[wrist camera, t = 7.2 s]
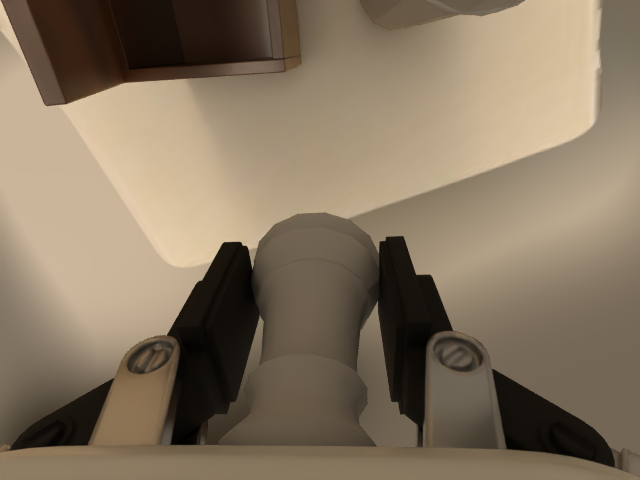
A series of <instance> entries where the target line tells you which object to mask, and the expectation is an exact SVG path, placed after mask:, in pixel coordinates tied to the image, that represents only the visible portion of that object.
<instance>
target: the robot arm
mask: <svg viewBox="0 0 640 480" xmlns="http://www.w3.org/2000/svg"><path fill="white" fill-rule="evenodd" d="M379 269H380V296H379V299H378V314H379V321H380V328H381V335H382V342H383V349H384V356H385V363H386V369H387V376H388V383H389V390H390V397H391V401H392V402H398V403H399V410H400V414H405V415H406V416H407V417H408V418H409V419H411V420H412V421H413V422H415V423H416V424H417V427H416V447H366V446H259V445H206V438H207V429H208V419H209V418H211V417H212V416H214V414H227V412H228V409H229V405H230V402H235V401H236V399H237V396H238V393H239V389H240V385H241V382H242V378H243V375H244V371H245V367H246V363H247V360H248V356H249V353H250V349H251V345H252V342H253V338H254V335H255V331H256V327H257V324H258V320H259V316H260V312H259V307H258V306H257V305H256V303H255V299H254V294H253V290H252V285H251V273H252V265H251V260H250V256H249V250H248V247H247V246H243V245H242V243H241V242H224V243H223V244H222V246H221V247H220V249H219V251H218V253H217V255H216V256H215V258H214V260H213V262H212V264H211V266H210V267H209V269H208V271H207V273H206V275H205V277H204V278H203V280H202V281H199V282H198V283H197V284H196V285H195V287H194V289H193V290H192V292H191V294H190V296H189V297H188V299H187V301H186V303H185V304H184V306H183V308H182V310H181V312H180V313H179V315H178V317H177V318H176V320H175V322H174V324H173V325H172V327H171V329H170V331H169V333H168V334H167V336H166V335H163V336H154V337H151V338H147V339H145V340H143V341H141V342H139V343H138V344H136V345H135V346H133V347H132V348H131V349H130V350H129V351H128V352H127V353H126V354H125V356H124V357H123V359H122V361H121V363H120V365H119V368H118V370H117V373H116V375H115V378H113V379H111V380H109V381H108V382H106V383H104V384H102V385H100V386H99V387H97V388H95V389H93V390H92V391H90V392H88V393H86V394H85V395H83V396H81V397H79V398H78V399H76V400H74V401H72V402H71V403H69V404H67V405H65V406H63V407H62V408H60V409H58V410H56V411H55V412H53V413H51V414H49V415H47V416H46V417H44V418H42V419H41V420H39V421H37V422H36V423H34V424H33V425H32V426H30V427H29V428H28V429H27V430H26V431H25V432H23V433H22V434H21V435H20V436H19V438H18V439H17V440H16V442H15V443H14V444H13V445H12V447H9V446H8V444H4V445H2V446H0V480H640V455H638V454H635V453H633V452H631V451H629V450H627V449H625V448H624V449H623V450H622V451H621V452H618V451H616V450H614V449H612V448H610V447H609V446H608V444H607V443H606V441H605V440H604V438H603V437H602V436H601V435H600V434H599V433H598V432H597V431H596V430H595V429H594V428H592V427H591V426H589V425H588V424H586V423H585V422H584V421H582V420H580V419H579V418H577V417H575V416H573V415H572V414H570V413H568V412H566V411H565V410H563V409H561V408H560V407H558V406H556V405H555V404H553V403H551V402H549V401H548V400H546V399H544V398H542V397H541V396H539V395H537V394H535V393H534V392H532V391H530V390H528V389H527V388H525V387H523V386H522V385H520V384H518V383H516V382H515V381H513V380H511V379H510V378H508V377H506V376H504V375H503V374H501V373H499V372H497V371H496V370H494V369H492V367H491V362H490V357H489V354H488V352H487V350H486V348H485V347H484V346H483V345H482V344H481V343H480V342H479V341H478V340H476V339H475V338H474V337H471V336H469V335H467V334H465V333H461V332H457V331H453V330H452V327H451V324H450V322H449V319H448V316H447V314H446V311H445V309H444V306H443V303H442V301H441V298H440V296H439V293H438V291H437V288H436V285H435V283H434V281H433V278H432V276H431V275H416V273H415V270H414V267H413V264H412V261H411V258H410V255H409V252H408V249H407V246H406V242H405V240H404V237H403V236H396V237H395V236H394V237H386V240H385V241H380V246H379Z"/></svg>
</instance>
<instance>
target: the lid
mask: <svg viewBox="0 0 640 480" xmlns="http://www.w3.org/2000/svg"><path fill="white" fill-rule="evenodd" d="M1 1H2V4H3V6H4V9H5V11H6V13H7V16H8V18H9V21H10V23H11V25H12V28H13V30H14V32H15V35H16V37H17V40H18V42H19V44H20V47H21V49H22V52H23V54H24V56H25V59H26V61H27V64H28V66H29V68H30V71H31V73H32V75H33V78H34V80H35V82H36V85H37V87H38V90H39V92H40V95H41V97H42V99H43V102H44V104H45V105H46V106H51V105H63V104H68V103H71V102H74V101H76V100H79V99H82V98H85V97H87V96H90V95H93V94H96V93H98V92H101V91H104V90H107V89H109V88H112V87H115V86H118V85H120V84H123V83H124V79H123V76H122V73H121V70H120V66H119V63H118V60H117V56H116V53H115V50H114V47H113V43H112V40H111V37H110V34H109V30H108V27H107V24H106V20H105V17H104V14H103V11H102V7H101V4H100V1H99V0H1Z"/></svg>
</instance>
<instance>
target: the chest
mask: <svg viewBox="0 0 640 480" xmlns="http://www.w3.org/2000/svg"><path fill="white" fill-rule="evenodd" d="M99 1H100V4H101V7H102V11H103V14H104V17H105V20H106V24H107V27H108V30H109V34H110V37H111V40H112V43H113V47H114V50H115V53H116V56H117V60H118V63H119V66H120V70H121V73H122V76H123V79H124V83H129V82H144V81H159V80H174V79H189V78H204V77H219V76H234V75H249V74H264V73H279V72H286V71H288V70H290V69H293V68H295V67H297V66H299V65H301V53H300V41H299V28H298V15H297V3H296V0H99Z"/></svg>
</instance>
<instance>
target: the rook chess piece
mask: <svg viewBox="0 0 640 480" xmlns="http://www.w3.org/2000/svg"><path fill="white" fill-rule="evenodd" d="M251 285H252V290H253V294H254V299H255V303H256V305H257V306H258V307H259V312H260V316H261V318H262V319H263V321H264V327H263V341H262V355H261V360H260V364H259V367H258V368H256V369H255V370H254V371H253V372H252V373H251V374H249V376H248V379H247V382H246V385H245V389H244V391H245V395H246V398H247V402H248V405H249V407H250V415H249V416H247V417H246V418H245V419H244V420H243V421H241V423H239V424H238V425H237V426H236V427H234V428H233V429H232V430H231V431H230V432H228V433H227V434H226V435H225V436H224V437H222V438H221V439H220V440H219V443H218V445H259V446H366V447H377V446H376V445H375V443H374V442H373V441H372V439H371V438H370V437H369V436H368V435H367V433H366V432H365V431H364V430H363V429H362V428H361V426H360V425H359V420H358V418H359V416H360V415H361V413H362V411H363V410H364V408H365V407H366V405H367V387H366V386H365V384H364V383H363V381H362V380H361V378H360V377H359V375H358V374H357V356H358V347H359V337H360V330H361V329H362V328H363V326H364V324H365V322H366V321H367V319H368V318H369V316H370V314H371V312H372V310H373V309H374V307H375V305H376V303H377V301H378V299H379V296H380V269H379V253H378V251H377V249H376V247H375V245H374V243H373V241H372V239H371V237H370V236H369V235H368V234H367V233H365V232H364V231H363V230H362V229H360V228H359V227H358V226H356V225H355V224H354V223H353V222H352V221H351V220H347V219H344V218H341V217H338V216H334V215H331V214H328V213H306V214H297V215H294V216H292V217H290V218H288V219H286V220H283V221H281V222H279V223H277V224H275V225H274V226H273V227H272V228H271V229H270V230H269V231H268V232H267V234H266V235H265V236H264V237H263V238H262V239H261V240H260V241H259V245H258V248H257V252H256V256H255V260H254V266H253V270H252V273H251Z"/></svg>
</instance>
